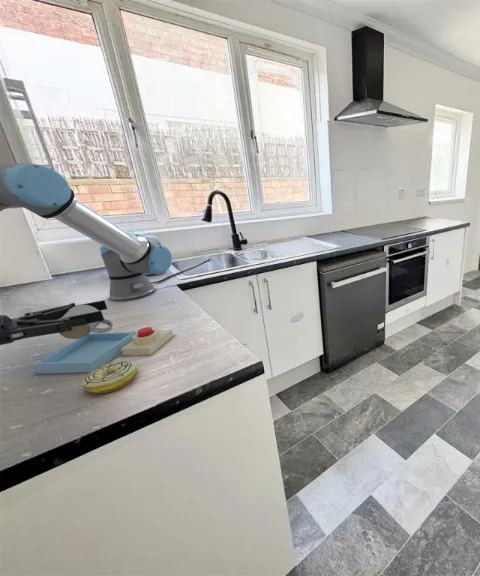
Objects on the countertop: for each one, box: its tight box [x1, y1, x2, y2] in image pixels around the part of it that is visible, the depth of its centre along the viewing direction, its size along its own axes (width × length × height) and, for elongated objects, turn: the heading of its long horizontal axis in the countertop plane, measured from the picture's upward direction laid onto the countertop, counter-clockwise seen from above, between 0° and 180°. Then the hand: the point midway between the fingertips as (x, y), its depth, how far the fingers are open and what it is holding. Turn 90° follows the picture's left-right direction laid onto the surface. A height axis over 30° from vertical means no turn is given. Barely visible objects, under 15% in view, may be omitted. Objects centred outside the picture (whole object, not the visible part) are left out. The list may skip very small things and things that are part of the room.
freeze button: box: [136, 326, 153, 337], centre depth 93 cm, size 4×4×2 cm
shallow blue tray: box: [33, 331, 137, 375], centre depth 89 cm, size 17×15×3 cm
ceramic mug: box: [58, 304, 114, 340], centre depth 88 cm, size 11×8×8 cm
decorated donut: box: [81, 360, 138, 395], centre depth 77 cm, size 10×11×4 cm
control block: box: [121, 328, 174, 356], centre depth 94 cm, size 11×8×4 cm
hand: (104, 309), depth 90 cm, fingers closed on ceramic mug, 9 cm apart
